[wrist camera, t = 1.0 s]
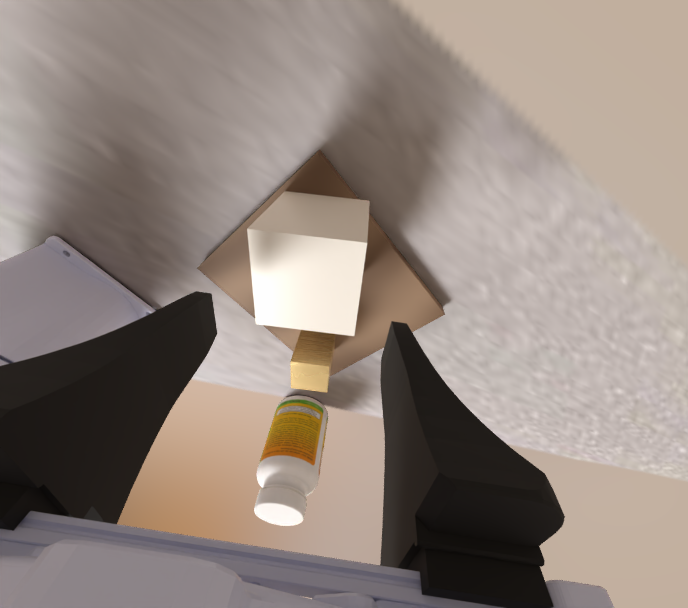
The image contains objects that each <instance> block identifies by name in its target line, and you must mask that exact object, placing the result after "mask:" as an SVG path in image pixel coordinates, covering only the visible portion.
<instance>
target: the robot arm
mask: <svg viewBox="0 0 688 608" xmlns="http://www.w3.org/2000/svg"><path fill="white" fill-rule="evenodd" d="M150 313H151V314H150ZM216 335H217V329H216V322H215V315H214V308H213V301H212V294H210V293H204V292H197V291H196V292H194V293H191V294H189V295H187V296H185V297H183V298H181V299H179V300H177V301H175V302H173V303H171V304H169V305H167V306H165V307H163V308H161V309H159V310H157V311H156V310H154V309H153V308H152V307H150V306H149V305H148V304H146V303H145V302H144V301H142V300H141V299H140V298H139V297H137V296H136V295H135V294H133V293H132V292H131V291H129V290H128V289H127V288H125V287H124V286H123V285H121V284H120V283H119V282H117V281H116V280H115V279H113V278H112V277H111V276H109V275H108V274H107V273H105V272H104V271H103V270H102V269H100V268H99V267H98V266H96V265H95V264H94V263H92V262H91V261H90V260H88V259H87V258H86V257H84V256H83V255H82V254H80V253H79V252H78V251H76V250H75V249H74V248H72V247H71V246H70V245H68V244H67V243H66V242H64V241H63V240H62V239H61V238H59V237H57V236H51V237H48V238H47V239H46V241H45V243H44V244H42V245H39V246H37V247H35V248H32V249H30V250H28V251H25V252H23V253H21V254H18V255H16V256H14V257H11V258H9V259H7V260H4V261H2V262H0V608H614V606H613V604H612V602H611V599H610V597H609V595H608V593H607V591H606V590H605V589H604V588H603V587H600V586H595V585H589V584H582V583H576V582H569V581H563V580H550V581H546V582H545V580H544V577H543V575H542V572H541V569H540V566H543V565H544V558H543V556H542V553H541V550H540V547H539V546H540V545H541V544H542V543H543V542H545V541H546V540H547V539H548V538H549V537H551V536H552V535H553V534H555V533H556V532H557V531H558V530H559V529H560V528H561V527H562V525H563V522H564V517H565V516H564V514H563V512H562V509H561V507H560V505H559V503H558V500H557V498H556V495H555V493H554V491H553V489H552V487H551V485H550V483H549V481H548V479H547V477H546V475H545V474H544V473H543V472H542V471H540V470H539V469H538V468H536V467H535V466H534V465H533V464H531V463H530V462H529V461H527V460H526V459H524V458H523V457H522V456H521V455H519V454H518V453H517V452H515V451H514V450H513V449H512V448H510V447H509V446H508V445H507V444H506V443H504V442H503V441H502V440H501V439H500V438H499V437H497V436H496V435H495V434H494V433H493V432H492V431H491V430H489V429H488V428H487V427H486V426H485V425H484V424H483V423H482V422H481V421H480V420H479V419H478V418H477V417H476V416H475V415H474V414H473V413H472V412H471V411H470V410H469V409H468V408H467V407H466V406H465V405H464V404H463V403H462V402H461V401H460V400H459V399H458V397H457V396H456V395H455V394H454V393H453V392H452V391H451V389H450V388H449V387H448V386H447V385H446V383H445V382H444V381H443V379H442V378H441V377H440V375H439V374H438V373H437V371H436V370H435V368H434V367H433V366H432V364H431V363H430V361H429V359H428V358H427V356H426V355H425V353H424V352H423V350H422V348H421V347H420V345H419V343H418V342H417V340H416V338H415V337H414V335H413V333H412V331H411V329H410V328H409V326H408V324H407V323H401V322H394V321H391V325H390V328H389V332H388V336H387V340H386V344H385V347H384V351H383V355H382V359H381V394H382V407H383V419H384V430H385V474H384V477H385V478H384V506H383V528H382V548H381V564H380V565H373V564H367V563H361V562H354V561H347V560H341V559H335V558H328V557H322V556H316V555H309V554H303V553H297V552H290V551H284V550H277V549H271V548H265V547H258V546H252V545H245V544H238V543H233V542H226V541H220V540H214V539H207V538H201V537H194V536H188V535H182V534H175V533H169V532H163V531H156V530H150V529H143V528H137V527H130V526H124V525H117V522H118V519H119V517H120V515H121V513H122V510H123V508H124V505H125V503H126V501H127V498H128V496H129V494H130V491H131V489H132V487H133V484H134V482H135V480H136V478H137V476H138V474H139V471H140V469H141V467H142V465H143V463H144V460H145V458H146V456H147V454H148V452H149V450H150V448H151V446H152V444H153V442H154V440H155V438H156V436H157V434H158V432H159V431H160V429H161V427H162V425H163V423H164V421H165V419H166V417H167V415H168V414H169V412H170V410H171V408H172V407H173V405H174V404H175V402H176V400H177V399H178V397H179V396H180V394H181V393H182V391H183V390H184V388H185V387H186V385H187V384H188V382H189V381H190V380H191V378H192V377H193V375H194V374H195V372H196V371H197V369H198V368H199V366H200V365H201V363H202V362H203V360H204V359H205V357H206V355H207V354H208V352H209V350H210V348H211V346H212V344H213V342H214V339H215V337H216ZM301 596H303V597H301ZM305 597H309V598H312V599H308V598H305Z"/></svg>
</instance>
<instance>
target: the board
mask: <svg viewBox="0 0 688 608" xmlns="http://www.w3.org/2000/svg"><path fill="white" fill-rule="evenodd" d="M285 191H288V192H297V193H306V194H315V195H324V196H332V197H341V198H350V199H358V198H357V197H356V195H355V194H354V193H353V192H352V190H351V189H350V188H349V186H348V185H347V184H346V183H345V181H344V180H343V179H342V177H341V176H340V175H339V174H338V172H337V171H336V170H335V168H334V167H333V166H332V165H331V163H330V162H329V161H328V159H327V158H326V157H325V156H324V154H323V153H322V152H321V150H319V151H318V152H317V153H316V154H315V155H314V156H313V157H311V158H310V159H309V160H308V161H307V162H306V163H305V164H304V165H303V166H302V167H301V168H300V169H299V170H298V171H297V172H296V173H295V174H294V175H293V176H292V177H291V178H290V179H289V180H288V181H287V182H286V183H285V184H284V185H282V186H281V187H280V188H279V189H278V190H277V191H276V192H275V193H274V194H273V195H272V196H271V197H270V198H269V199H268V200H267V201H266V202H265V203H264V204H263V205H262V206H261V207H260V208H259V209H258V210H257V211H256V212H255V213H253V214H252V215H251V216H250V217H249V218H248V219H247V220H246V221H245V222H244V223H243V224H242V225H241V226H240V227H239V228H238V229H237V230H236V231H235V232H234V233H233V234H232V235H231V236H230V237H229V238H228V239H227V240H226V241H225V242H223V243H222V244H221V245H220V246H219V247H218V248H217V249H216V250H215V251H214V252H213V253H212V254H211V255H210V256H209V257H208V258H207V259H206V260H205V261H204V262H203V263H202V264H201V265H200V266H199V267H198V269H199V270H200V271H201V272H202V273H203V274H204V275H206V276H207V277H208V278H209V279H210V280H211V281H213V282H214V283H215V284H216V285H217V286H218V287H219V288H221V289H222V290H223V291H224V292H225V293H226V294H228V295H229V296H230V297H231V298H232V299H233V300H234V301H236V302H237V303H238V304H239V305H240V306H241V307H242V308H244V309H245V310H246V311H247V312H248V313H249V314H251V315H252V316H253V317H254V318H255V308H254V297H253V287H252V276H251V265H250V255H249V244H248V233H247V228H248V227H249V226H250V225H251V224H252V223H253V222H254V221H255V220H256V219H257V218H258V217H259V216H260V215H262V214H263V213H264V212H265V211H266V210H267V209H268V208H269V207H270V206H271V205H272V204H273V203H274V202H275V201H276V200H277V199H278V198H279V197H280V196H281V195H282V194H283V193H284V192H285ZM443 315H445V313H444V310H443V307H442V306H441V304H440V303H439V302H438V301H437V299H436V298H435V297H434V295H433V294H432V293H431V292H430V290H429V289H428V288H427V286H426V285H425V284H424V283H423V281H422V280H421V279H420V277H419V276H418V275H417V274H416V272H415V271H414V270H413V268H412V267H411V266H410V265H409V263H408V262H407V261H406V260H405V258H404V257H403V256H402V254H401V253H400V252H399V251H398V249H397V248H396V247H395V245H394V244H393V243H392V242H391V240H390V239H389V238H388V236H387V235H386V234H385V233H384V231H383V230H382V229H381V227H380V226H379V225H378V224H377V222H376V221H375V220H374V218H373V217H372V216H371V215H370V213H369V222H368V239H367V248H366V256H365V263H364V270H363V277H362V284H361V292H360V299H359V306H358V313H357V321H356V328H355V335H354V336H348V335H340V334H336V337H335V348H334V355H333V361H332V367H331V372H330V376H331V375H333V374H335V373H337V372H339V371H341V370H343V369H344V368H346V367H348V366H350V365H352V364H354V363H356V362H357V361H359V360H361V359H363V358H365V357H367V356H369V355H370V354H372V353H374V352H376V351H378V350H380V349H382V348H383V347H385V344H386V340H387V336H388V332H389V328H390V325H391V321H394V322H401V323H407V324H408V326H409V328H410V329H411V331H412V332H413V331H415V330H417V329H419V328H421V327H422V326H424V325H426V324H428V323H430V322H432V321H434V320H435V319H437V318H439V317H441V316H443ZM263 326H264V327H266V328H267V329H268V330H269V331H270V332H271V333H272V334H274V335H275V336H276V337H277V338H278V339H279V340H281V341H282V342H283V343H284V344H285V345H286V346H287V347H289V348H290V349H291V350H292V351H293V352H294V350H295V347H296V344H297V341H298V337H299V334H300V331H301V330H299V329H291V328H283V327H275V326H267V325H263Z"/></svg>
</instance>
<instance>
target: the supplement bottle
mask: <svg viewBox="0 0 688 608" xmlns="http://www.w3.org/2000/svg"><path fill="white" fill-rule="evenodd" d="M327 420H328V413H327V410H326V408H325V407H324V406H323V405H322V404H321V403H320V402H319V401H317V400H315V399H313V398H311V397H307V396H301V395H297V396H290V397H287V398H285V399H283V400H282V401H281V402H280V403H279V404H278V407H277V409H276V413H275V416H274V419H273V422H272V425H271V428H270V431H269V435H268V438H267V441H266V444H265V447H264V450H263V454H262V457H261V459H260V463H259V466H258V469H257V480H258V482H259V484H260V486H261V487H262V488H261V489H260V491H259V494H258V496H257V500H256V504H255V507H254V512H255V514H256V515H257V516H258V517H259V518H260V519H262V520H264V521H266V522H269V523H272V524H276V525H282V526H292V525H296V524H299V523H301V522H302V521H303V519H304V515H305V510H306V505H307V502H306V501H307V499H306V496H307V495H309V494H311V493H312V492H313V491H314V490H315V488H316V487H317V484H318V480H319V474H320V467H321V460H322V454H323V448H324V441H325V434H326V429H327Z"/></svg>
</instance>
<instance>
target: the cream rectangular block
mask: <svg viewBox="0 0 688 608" xmlns="http://www.w3.org/2000/svg"><path fill="white" fill-rule="evenodd" d="M369 206H370V201H368V200H359V199H350V198H341V197H332V196H324V195H315V194H306V193H297V192H288V191H285V192H284V193H283V194H282V195H281V196H280V197H279V198H278V199H277V200H276V201H275V202H274V203H273V204H272V205H271V206H270V207H269V208H268V209H267V210H266V211H265V212H264V213H263V214H262V215H260V216H259V217H258V218H257V219H256V220H255V221H254V222H253V223H252V224H251V225H250V226H249V227H248V228H247V233H248V244H249V255H250V265H251V276H252V287H253V297H254V308H255V319H256V324H259V325H267V326H275V327H283V328H291V329H299V330H308V331H316V332H324V333H332V334H340V335H348V336H354V335H355V328H356V321H357V313H358V306H359V299H360V292H361V284H362V277H363V270H364V263H365V256H366V248H367V239H368V222H369Z"/></svg>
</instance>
